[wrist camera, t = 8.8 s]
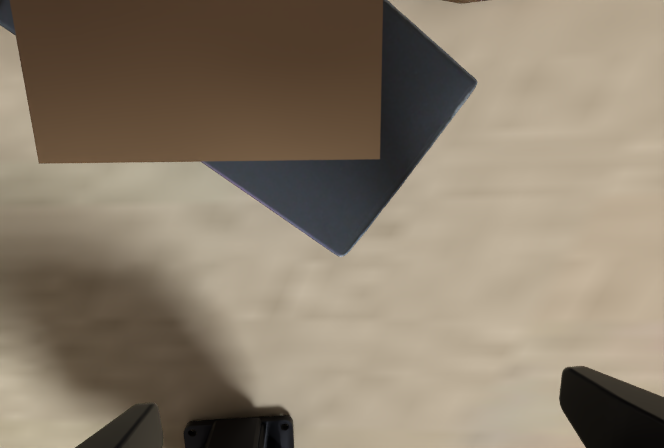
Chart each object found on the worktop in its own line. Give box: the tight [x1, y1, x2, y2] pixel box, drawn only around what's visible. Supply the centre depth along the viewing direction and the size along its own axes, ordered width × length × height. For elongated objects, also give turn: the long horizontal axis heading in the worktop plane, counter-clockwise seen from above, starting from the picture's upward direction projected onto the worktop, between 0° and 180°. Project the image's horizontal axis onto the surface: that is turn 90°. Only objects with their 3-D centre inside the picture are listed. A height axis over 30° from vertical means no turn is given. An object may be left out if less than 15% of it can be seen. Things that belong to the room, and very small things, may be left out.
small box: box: [0, 0, 477, 257], centre depth 14 cm, size 11×6×10 cm, turn 54°
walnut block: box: [10, 0, 383, 163], centre depth 7 cm, size 5×5×4 cm
